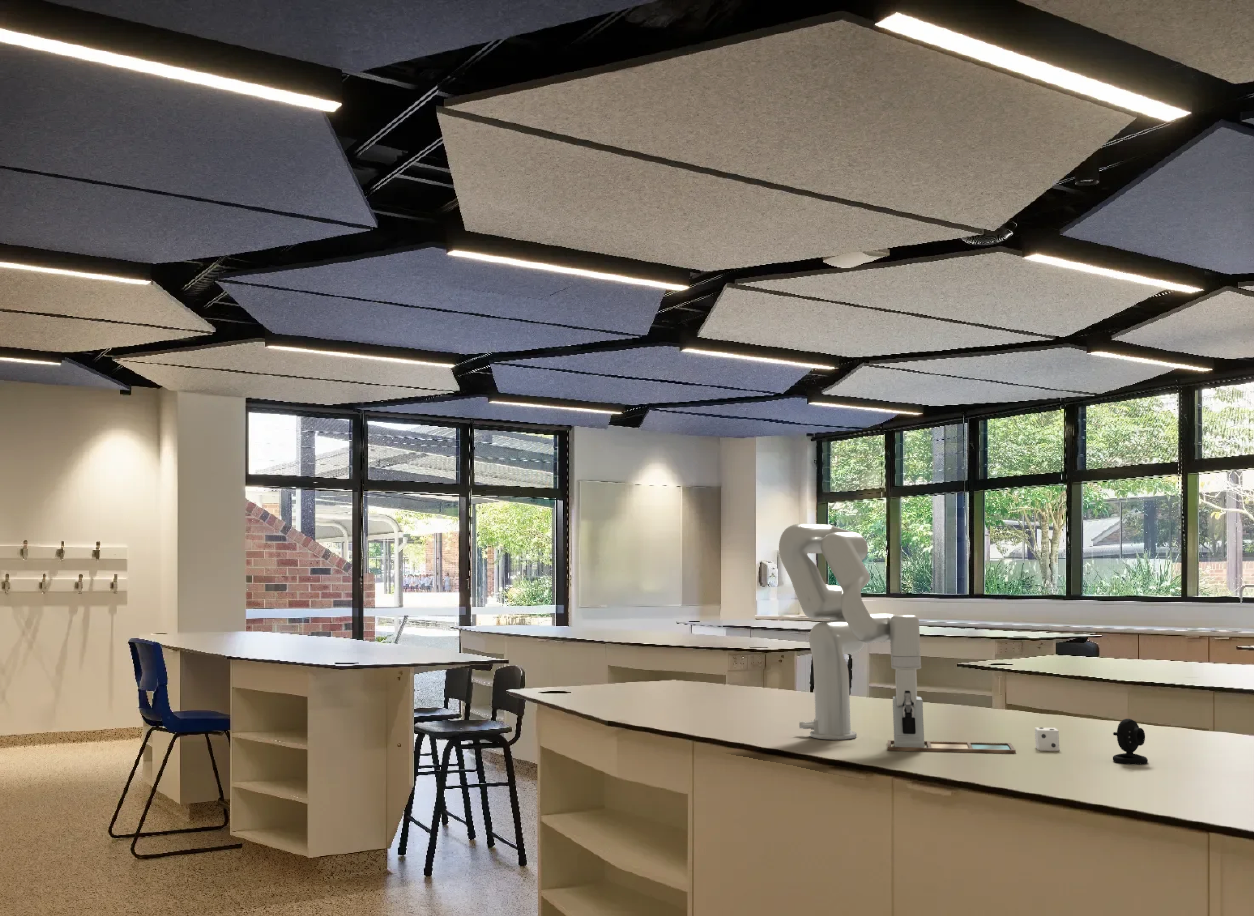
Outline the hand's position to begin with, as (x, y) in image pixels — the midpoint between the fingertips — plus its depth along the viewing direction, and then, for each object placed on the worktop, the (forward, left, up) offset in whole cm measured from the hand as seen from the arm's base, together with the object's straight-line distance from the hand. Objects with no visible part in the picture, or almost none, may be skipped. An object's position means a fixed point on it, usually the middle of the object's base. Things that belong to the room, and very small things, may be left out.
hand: (908, 730), depth 280 cm
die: (+34, +3, -4) cm, 34 cm away
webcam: (+50, -14, -4) cm, 52 cm away
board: (+10, 0, -4) cm, 11 cm away
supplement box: (0, 0, -4) cm, 4 cm away
